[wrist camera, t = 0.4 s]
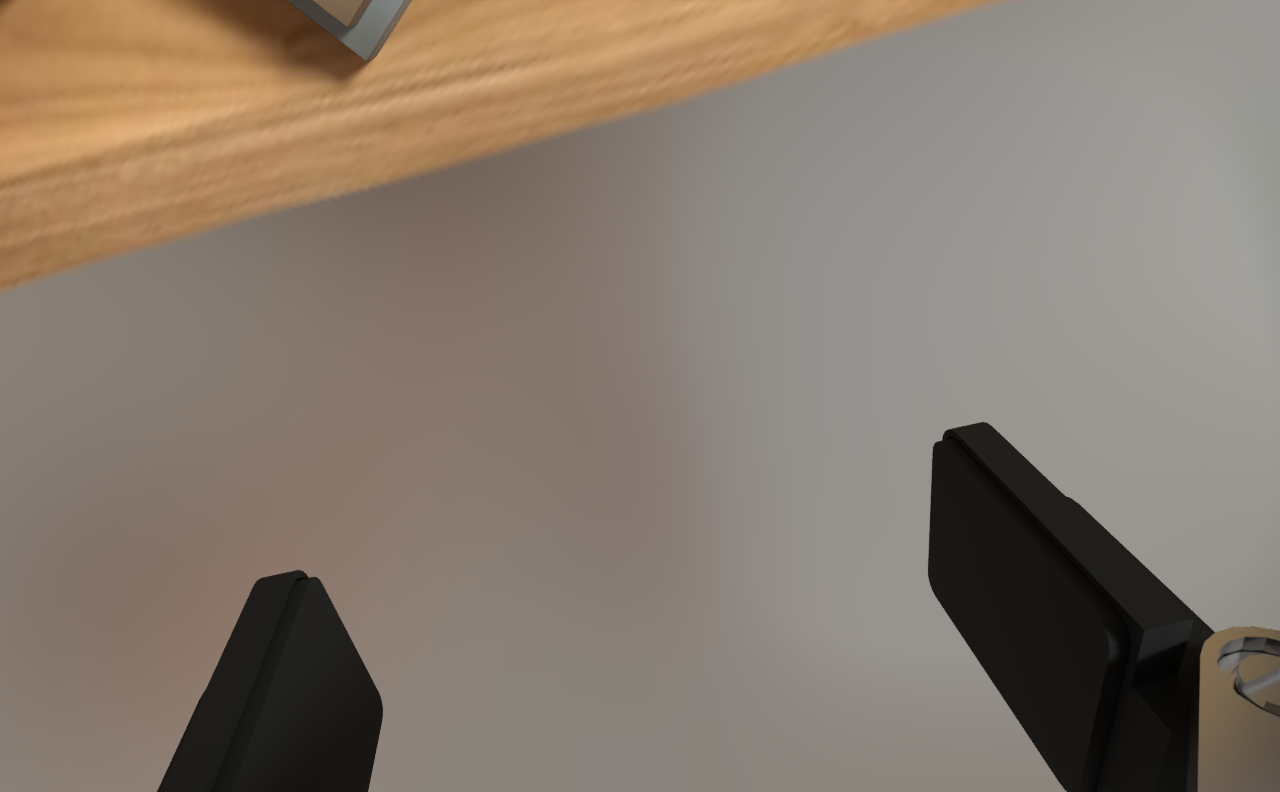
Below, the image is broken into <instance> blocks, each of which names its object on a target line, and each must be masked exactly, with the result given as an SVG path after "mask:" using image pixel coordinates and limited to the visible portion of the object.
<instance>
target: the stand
mask: <svg viewBox="0 0 1280 792" xmlns="http://www.w3.org/2000/svg"><path fill="white" fill-rule="evenodd" d="M287 1H289V2H290V3H291V4H292V5H294V6H295V7H296V8H298V9H299V10H300V11H302V12H303V13H304V14H306V15H307V16H308V17H309V18H311V19H312V20H313V21H315V22H316V23H317V24H319V25H320V26H321V27H322V28H324V29H325V30H326V31H328V32H329V33H330V34H332V35H333V36H334V37H336V38H337V39H338V40H339V41H341V42H342V43H343V44H345V45H346V46H347V47H349V48H350V49H351V50H353V51H354V52H355V53H356V54H358V55H359V56H360V57H362V58H363V59H364V60H366V61H367V60H369V59H372V58H374V57H376V56H377V55H378V53H379V51H380V50H381V48H382V47H383V45H384V43H385V42H386V40H387V39H388V37H389V35H390V34H391V32H392V31H393V29H394V28H395V26H396V24H397V23H398V21H399V20H400V18H401V16H402V15H403V13H404V12H405V10H406V8H407V7H408V5H409V4H410V2H411V0H287Z"/></svg>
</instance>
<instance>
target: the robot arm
mask: <svg viewBox="0 0 1280 792" xmlns="http://www.w3.org/2000/svg"><path fill="white" fill-rule="evenodd" d="M929 536H930V537H929V559H928V576H929V581H930V585H931V588H932V590H933V592H934V594H935V596H936V598H937V599H938V601H939V602H940V604H941V605H942V607H943V608H944V610H945V611H946V613H947V614H948V616H949V617H950V619H951V620H952V622H953V623H954V625H955V626H956V628H957V629H958V631H959V632H960V634H961V635H962V637H963V638H964V640H965V641H966V643H967V644H968V646H969V647H970V649H971V650H972V652H973V653H974V655H975V656H976V658H977V659H978V661H979V662H980V664H981V665H982V667H983V668H984V670H985V671H986V673H987V674H988V676H989V677H990V679H991V680H992V682H993V683H994V685H995V686H996V688H997V689H998V691H999V692H1000V694H1001V695H1002V697H1003V698H1004V700H1005V701H1006V703H1007V704H1008V706H1009V707H1010V709H1011V710H1012V712H1013V713H1014V715H1015V716H1016V718H1017V719H1018V721H1019V722H1020V724H1021V725H1022V727H1023V728H1024V730H1025V731H1026V733H1027V734H1028V736H1029V737H1030V739H1031V740H1032V742H1033V743H1034V745H1035V746H1036V748H1037V750H1038V751H1039V752H1040V754H1041V756H1042V757H1043V759H1044V760H1045V761H1046V763H1047V765H1048V766H1049V768H1050V769H1051V771H1052V772H1053V773H1054V775H1055V777H1056V778H1057V780H1058V781H1059V782H1060V784H1061V785H1062V786H1063V788H1064V789H1065V790H1066V791H1067V792H1280V631H1278V630H1273V629H1266V628H1260V627H1254V626H1251V627H1231V628H1228V629H1225V630H1222V631H1219V632H1214V631H1213V630H1212V629H1211V628H1210V627H1209V626H1208V625H1207V624H1205V623H1204V622H1203V621H1202V620H1201V619H1200V618H1199V617H1198V616H1197V615H1196V614H1195V613H1194V612H1193V611H1191V609H1190V608H1188V606H1186V605H1185V604H1184V603H1183V602H1182V601H1181V600H1180V599H1179V598H1178V597H1177V596H1176V595H1175V594H1174V593H1173V592H1172V591H1171V590H1170V589H1168V588H1167V587H1166V586H1165V585H1164V584H1163V583H1162V582H1161V581H1160V580H1159V579H1158V578H1157V577H1156V576H1155V575H1153V574H1152V573H1151V572H1150V571H1149V570H1148V569H1147V568H1146V567H1145V566H1144V565H1143V564H1142V563H1141V562H1140V561H1139V560H1138V559H1137V558H1136V557H1135V556H1133V555H1132V554H1131V553H1130V552H1129V551H1128V550H1127V549H1126V548H1125V547H1124V546H1123V545H1122V544H1121V543H1120V542H1119V541H1118V540H1117V539H1115V538H1114V537H1113V536H1112V535H1111V534H1110V533H1109V532H1108V531H1107V530H1106V529H1105V528H1104V527H1103V526H1102V525H1101V524H1100V523H1098V522H1097V521H1096V520H1095V519H1094V518H1093V517H1092V516H1091V515H1090V514H1089V513H1088V512H1087V511H1086V510H1085V509H1084V508H1083V507H1081V506H1080V505H1079V504H1078V503H1077V502H1075V501H1074V500H1073V499H1071V498H1069V497H1066V496H1065V495H1064V494H1063V493H1061V492H1060V491H1059V490H1058V489H1057V488H1056V487H1055V486H1054V485H1053V484H1052V483H1051V482H1050V481H1049V480H1048V479H1047V478H1046V477H1045V476H1044V475H1042V473H1040V472H1039V471H1038V470H1037V469H1036V468H1035V467H1034V466H1033V465H1032V464H1031V463H1030V462H1029V461H1028V460H1027V459H1026V458H1025V457H1024V456H1023V455H1021V454H1020V453H1019V452H1018V451H1017V450H1016V449H1015V448H1014V447H1013V446H1012V445H1011V444H1010V443H1009V442H1008V441H1007V440H1006V439H1005V438H1004V437H1003V436H1002V435H1001V434H1000V433H998V432H997V431H996V430H995V429H994V428H993V427H992V426H991V425H989V424H988V423H984V422H981V423H976V424H972V425H967V426H962V427H958V428H953V429H949V430H947V431H945V433H944V435H943V440H942V441H939V442H936V443H935V444H934V446H933V459H932V483H931V511H930V534H929ZM382 717H383V707H382V701H381V697H380V694H379V692H378V690H377V688H376V686H375V685H374V683H373V680H372V679H371V677H370V675H369V673H368V671H367V669H366V667H365V665H364V663H363V661H362V659H361V657H360V655H359V653H358V652H357V650H356V648H355V646H354V644H353V642H352V640H351V638H350V636H349V634H348V632H347V630H346V629H345V627H344V625H343V623H342V621H341V619H340V617H339V615H338V613H337V611H336V609H335V608H334V606H333V604H332V602H331V600H330V598H329V596H328V594H327V592H326V590H325V588H324V586H323V584H322V583H321V581H320V580H319V579H318V578H317V577H311V578H308V576H307V575H306V573H304V572H303V571H301V570H296V571H292V572H287V573H282V574H278V575H273V576H268V577H264V578H261V579H259V580H257V582H256V583H255V584H254V586H253V588H252V590H251V592H250V595H249V597H248V599H247V601H246V603H245V606H244V608H243V610H242V612H241V614H240V617H239V619H238V621H237V623H236V626H235V627H234V630H233V632H232V634H231V636H230V638H229V640H228V643H227V645H226V647H225V649H224V651H223V654H222V656H221V658H220V660H219V662H218V665H217V667H216V669H215V671H214V673H213V675H212V677H211V680H210V682H209V684H208V686H207V688H206V690H205V692H204V693H203V695H202V697H201V698H200V700H199V702H198V704H197V706H196V709H195V711H194V713H193V715H192V717H191V719H190V722H189V724H188V726H187V728H186V731H185V733H184V735H183V737H182V739H181V741H180V743H179V745H178V748H177V750H176V752H175V754H174V756H173V758H172V761H171V763H170V765H169V767H168V769H167V771H166V774H165V776H164V778H163V780H162V782H161V785H160V787H159V789H158V791H157V792H368V789H369V784H370V779H371V774H372V769H373V764H374V759H375V754H376V748H377V744H378V739H379V734H380V729H381V724H382Z"/></svg>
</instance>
